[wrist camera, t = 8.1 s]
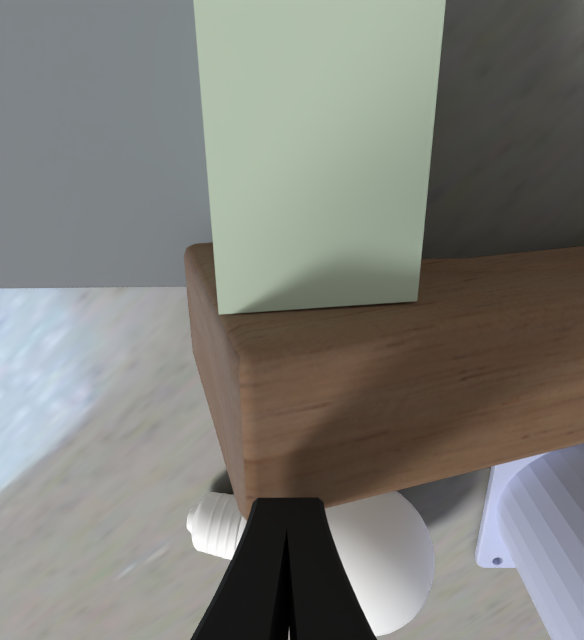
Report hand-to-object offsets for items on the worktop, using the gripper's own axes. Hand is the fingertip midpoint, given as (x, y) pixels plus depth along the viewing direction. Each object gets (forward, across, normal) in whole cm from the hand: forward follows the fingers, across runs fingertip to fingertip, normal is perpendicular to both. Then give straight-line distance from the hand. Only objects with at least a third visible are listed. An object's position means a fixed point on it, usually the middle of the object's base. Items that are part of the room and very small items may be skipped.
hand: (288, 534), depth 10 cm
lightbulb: (+9, +5, +9) cm, 14 cm away
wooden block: (+5, +3, -2) cm, 6 cm away
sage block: (+10, 0, -8) cm, 13 cm away
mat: (+10, +8, -8) cm, 15 cm away
